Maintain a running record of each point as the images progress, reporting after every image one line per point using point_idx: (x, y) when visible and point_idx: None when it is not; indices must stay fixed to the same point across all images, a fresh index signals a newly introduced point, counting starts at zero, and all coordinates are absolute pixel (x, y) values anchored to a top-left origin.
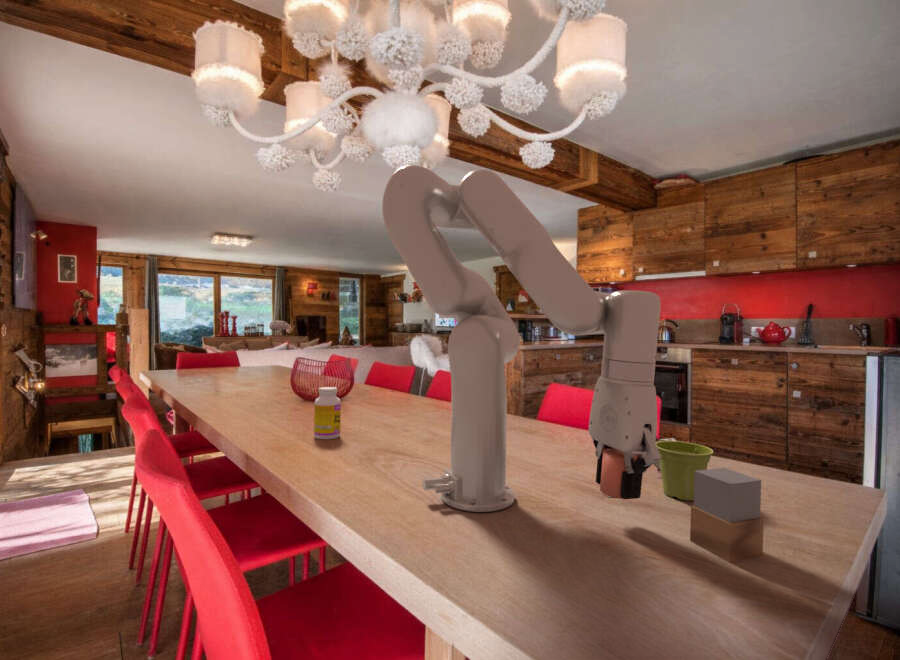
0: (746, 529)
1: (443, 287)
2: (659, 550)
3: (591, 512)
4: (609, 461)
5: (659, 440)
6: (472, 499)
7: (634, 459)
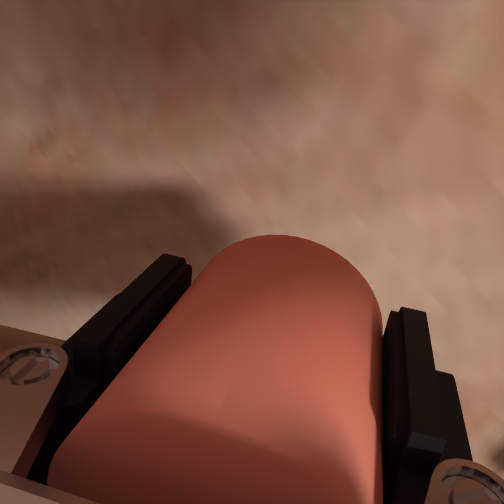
0: None
1: None
2: (75, 208)
3: (438, 244)
4: (194, 368)
5: None
6: None
7: None
